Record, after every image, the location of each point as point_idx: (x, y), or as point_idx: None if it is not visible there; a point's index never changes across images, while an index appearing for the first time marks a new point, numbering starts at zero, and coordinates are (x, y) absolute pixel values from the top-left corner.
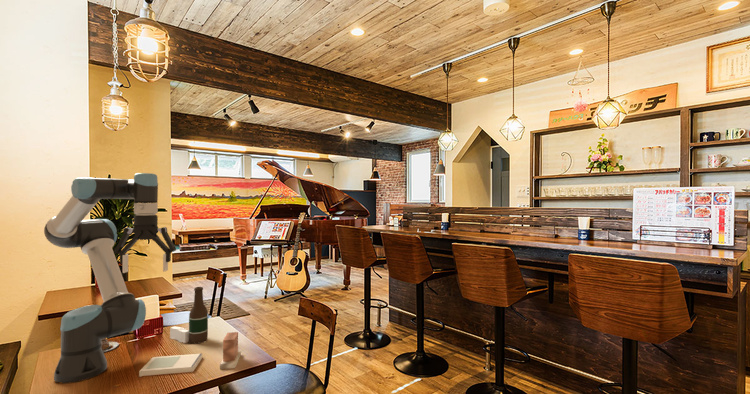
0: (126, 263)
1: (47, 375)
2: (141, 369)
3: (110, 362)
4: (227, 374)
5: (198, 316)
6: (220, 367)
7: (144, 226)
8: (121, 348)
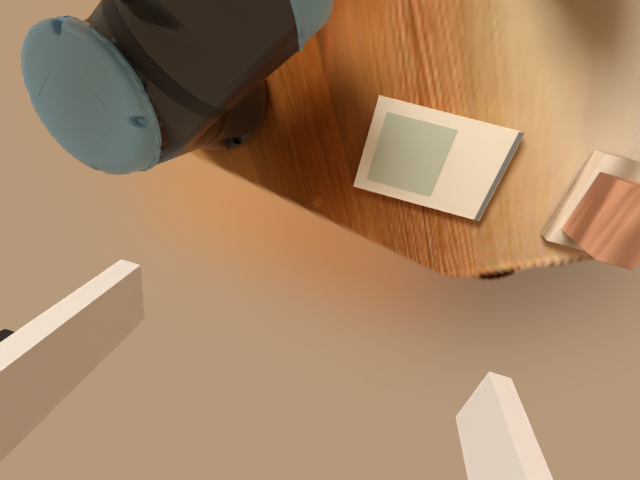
0: (69, 361)
1: None
2: (357, 177)
3: None
4: (548, 263)
5: None
6: (544, 236)
7: None
8: None
